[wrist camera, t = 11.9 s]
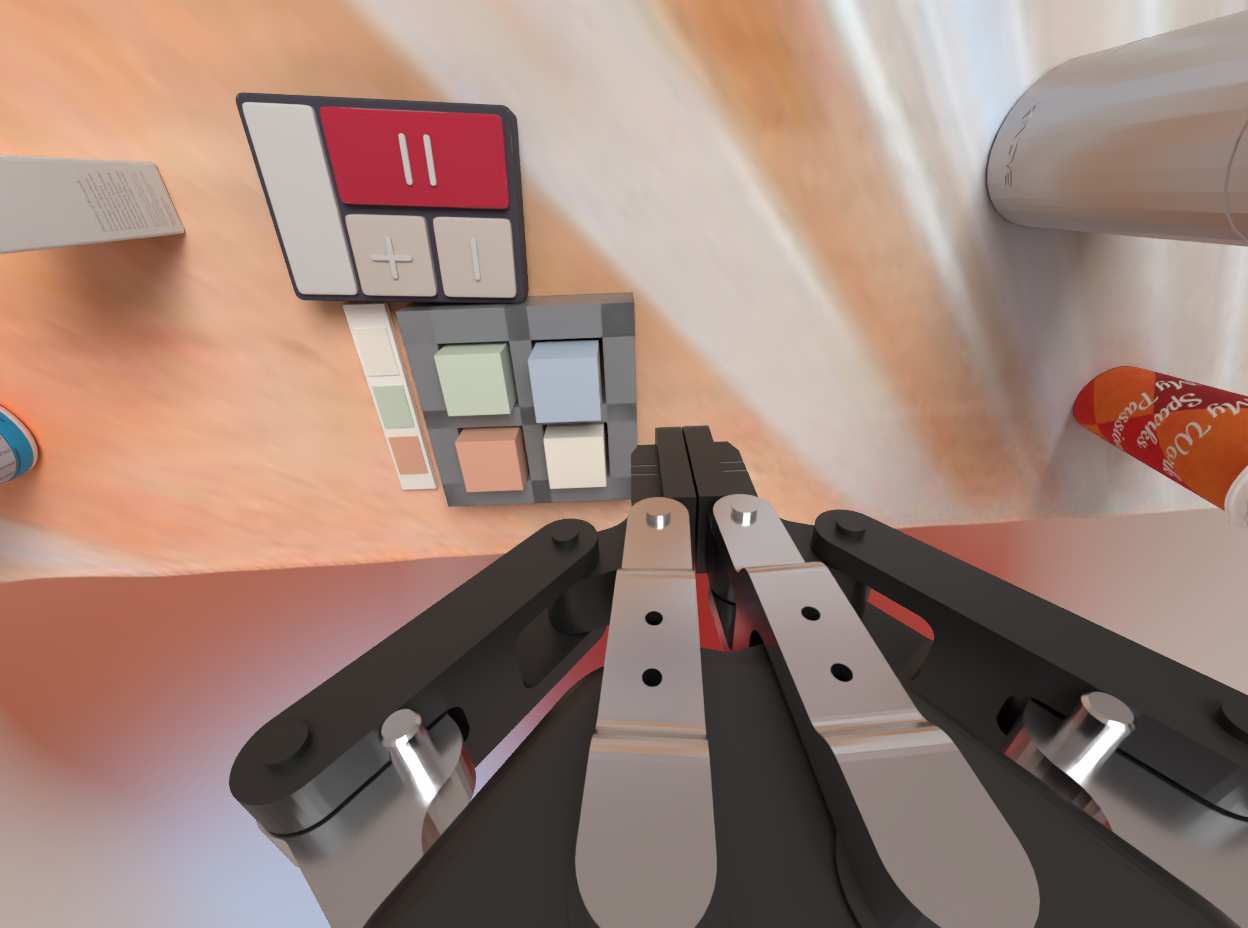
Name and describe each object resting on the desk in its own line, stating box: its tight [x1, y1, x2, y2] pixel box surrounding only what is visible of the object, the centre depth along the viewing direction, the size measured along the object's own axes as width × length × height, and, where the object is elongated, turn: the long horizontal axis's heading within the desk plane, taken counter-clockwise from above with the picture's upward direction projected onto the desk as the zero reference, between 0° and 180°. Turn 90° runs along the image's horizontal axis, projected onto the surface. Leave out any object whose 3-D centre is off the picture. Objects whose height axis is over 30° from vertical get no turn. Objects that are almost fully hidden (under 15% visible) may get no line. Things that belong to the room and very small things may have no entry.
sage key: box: [434, 341, 518, 416], centre depth 34 cm, size 4×4×4 cm
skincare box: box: [0, 155, 184, 254], centre depth 26 cm, size 6×4×12 cm
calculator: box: [236, 93, 528, 304], centre depth 30 cm, size 11×4×15 cm
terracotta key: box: [455, 426, 529, 492], centre depth 37 cm, size 4×4×4 cm
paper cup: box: [1073, 366, 1248, 529], centre depth 34 cm, size 8×8×14 cm
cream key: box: [543, 422, 607, 489], centre depth 37 cm, size 4×4×4 cm
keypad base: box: [396, 293, 637, 507], centre depth 37 cm, size 16×16×4 cm
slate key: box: [528, 340, 602, 423], centre depth 33 cm, size 4×4×4 cm
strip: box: [342, 302, 438, 490], centre depth 38 cm, size 3×16×1 cm, turn 2°
